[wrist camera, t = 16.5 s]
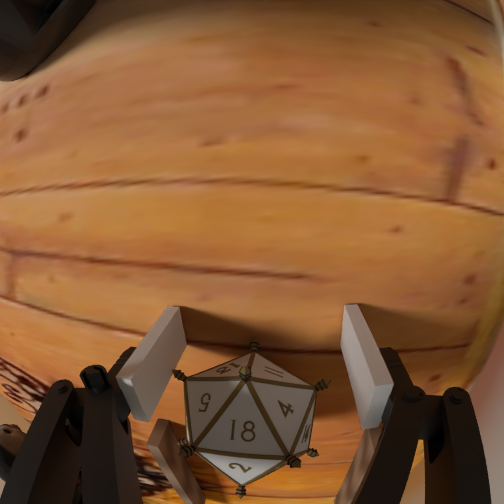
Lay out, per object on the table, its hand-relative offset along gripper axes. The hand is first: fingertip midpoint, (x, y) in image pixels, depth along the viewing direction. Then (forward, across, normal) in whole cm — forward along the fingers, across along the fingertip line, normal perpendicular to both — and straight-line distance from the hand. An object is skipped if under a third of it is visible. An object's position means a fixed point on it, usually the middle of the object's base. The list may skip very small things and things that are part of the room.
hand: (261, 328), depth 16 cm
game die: (0, +1, +4) cm, 4 cm away
